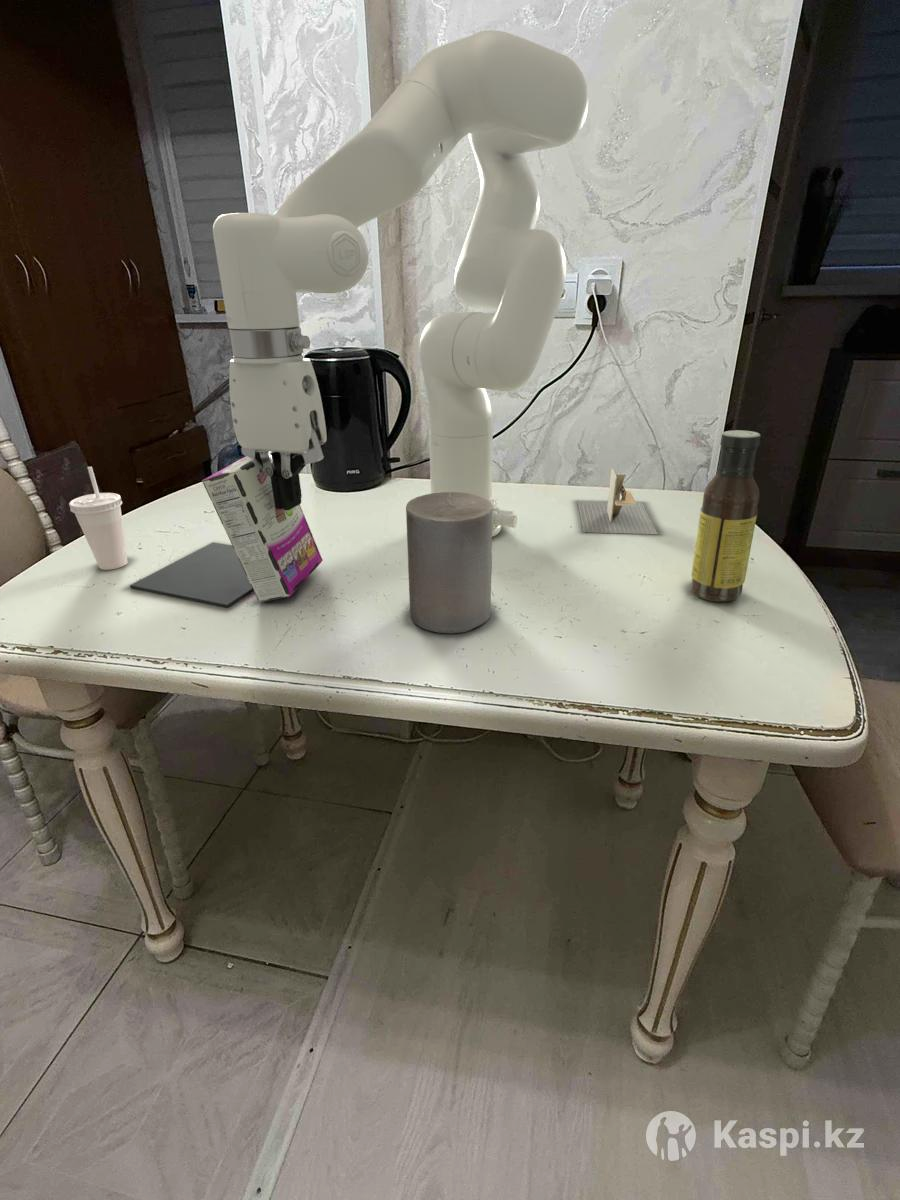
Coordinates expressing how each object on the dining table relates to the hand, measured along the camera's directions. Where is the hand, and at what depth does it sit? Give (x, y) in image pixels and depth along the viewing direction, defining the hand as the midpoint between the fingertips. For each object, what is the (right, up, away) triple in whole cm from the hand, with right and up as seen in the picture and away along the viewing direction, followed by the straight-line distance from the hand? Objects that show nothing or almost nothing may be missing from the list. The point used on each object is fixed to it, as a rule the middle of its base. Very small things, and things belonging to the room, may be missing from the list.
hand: (288, 506), depth 77 cm
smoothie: (-29, -7, +13) cm, 32 cm away
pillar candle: (+20, -13, -2) cm, 24 cm away
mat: (-12, -8, +10) cm, 17 cm away
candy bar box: (-1, -9, +5) cm, 11 cm away
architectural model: (+47, +2, +27) cm, 55 cm away
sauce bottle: (+53, -11, +2) cm, 54 cm away
